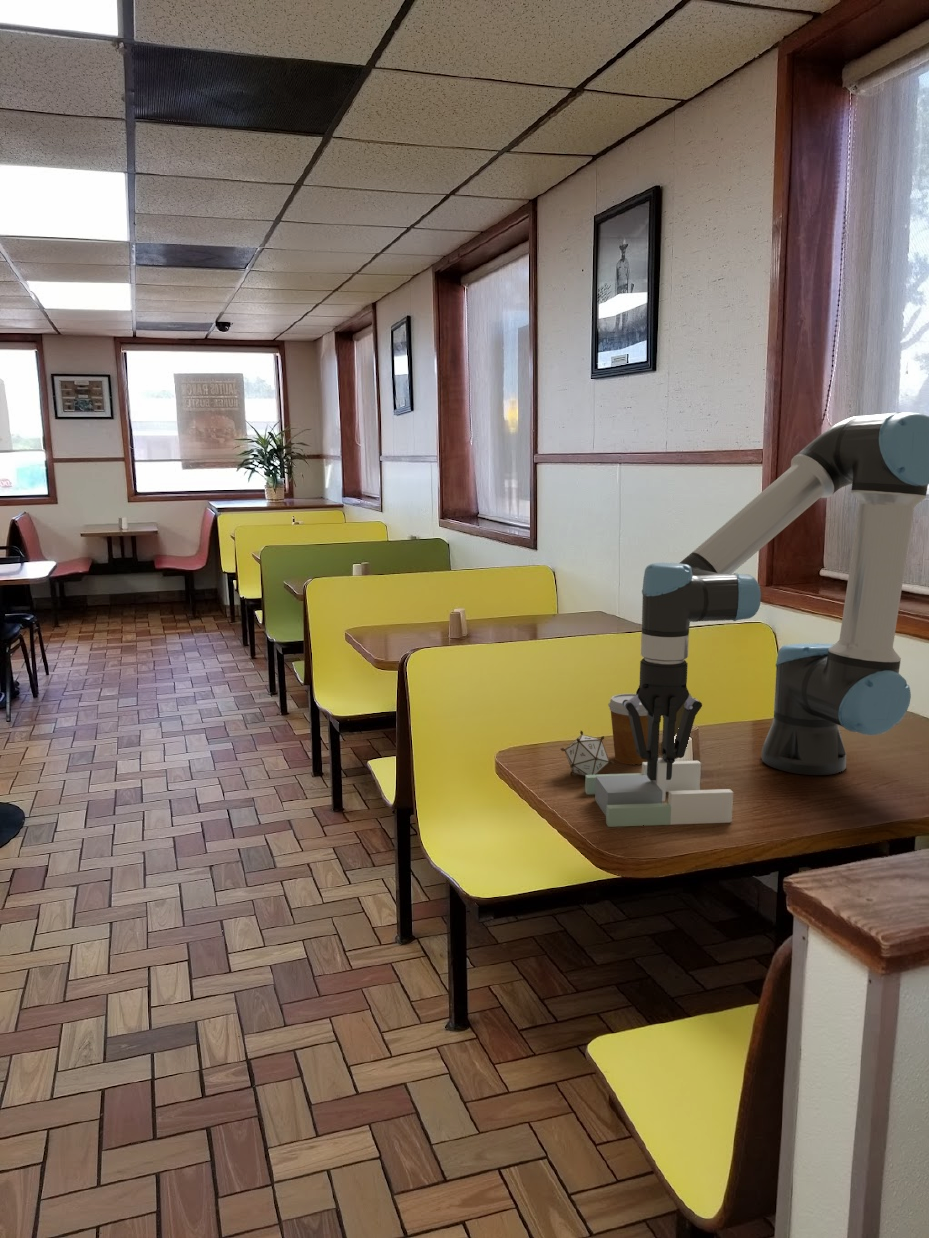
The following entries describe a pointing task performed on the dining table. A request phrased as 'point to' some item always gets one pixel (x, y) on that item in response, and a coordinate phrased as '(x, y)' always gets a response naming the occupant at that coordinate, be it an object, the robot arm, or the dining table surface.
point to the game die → (586, 755)
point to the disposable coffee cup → (626, 730)
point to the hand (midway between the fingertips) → (658, 798)
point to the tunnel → (672, 801)
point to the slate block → (626, 790)
